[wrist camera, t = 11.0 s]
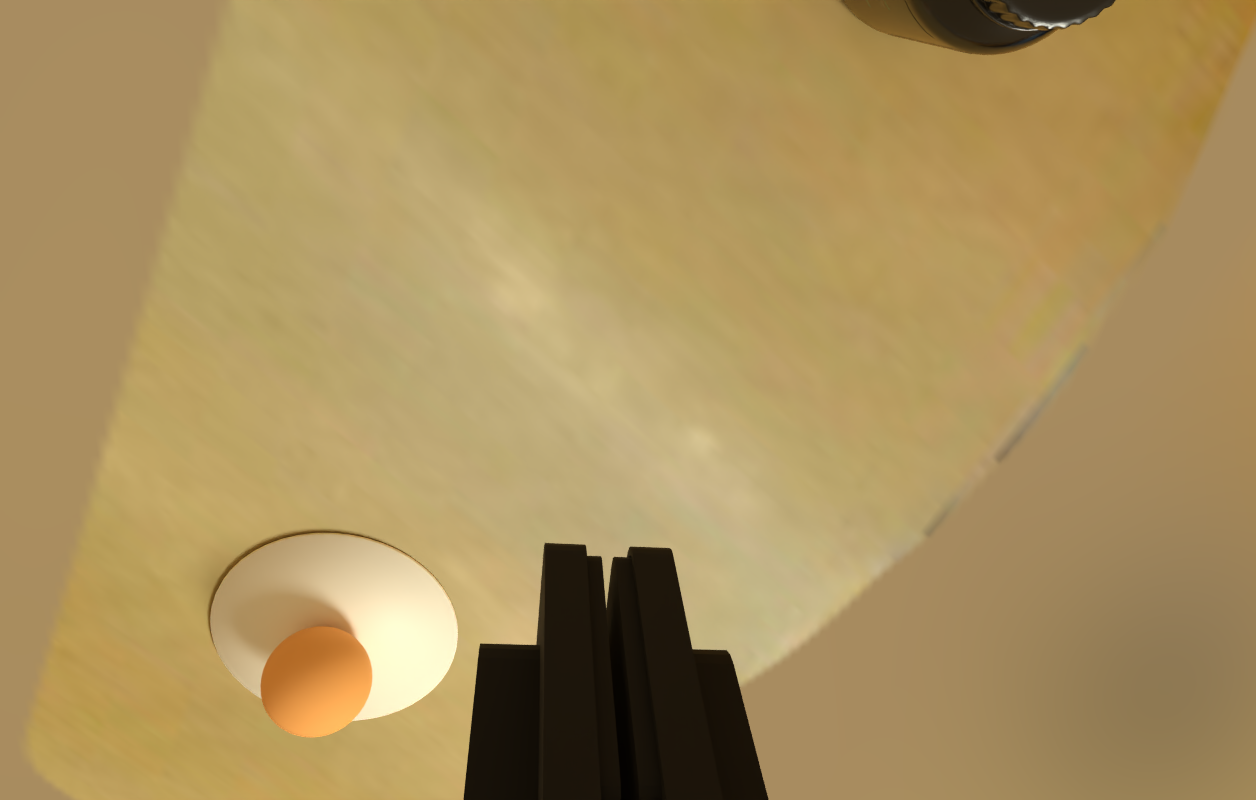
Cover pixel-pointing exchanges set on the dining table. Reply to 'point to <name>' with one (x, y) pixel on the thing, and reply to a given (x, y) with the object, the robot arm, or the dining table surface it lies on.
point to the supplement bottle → (975, 21)
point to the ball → (316, 681)
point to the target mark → (338, 612)
